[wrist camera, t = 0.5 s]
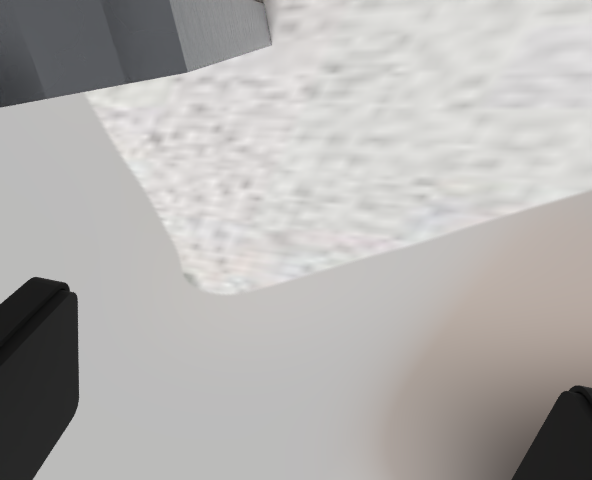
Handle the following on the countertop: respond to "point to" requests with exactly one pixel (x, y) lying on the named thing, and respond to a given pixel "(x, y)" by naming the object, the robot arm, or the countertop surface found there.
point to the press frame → (117, 42)
